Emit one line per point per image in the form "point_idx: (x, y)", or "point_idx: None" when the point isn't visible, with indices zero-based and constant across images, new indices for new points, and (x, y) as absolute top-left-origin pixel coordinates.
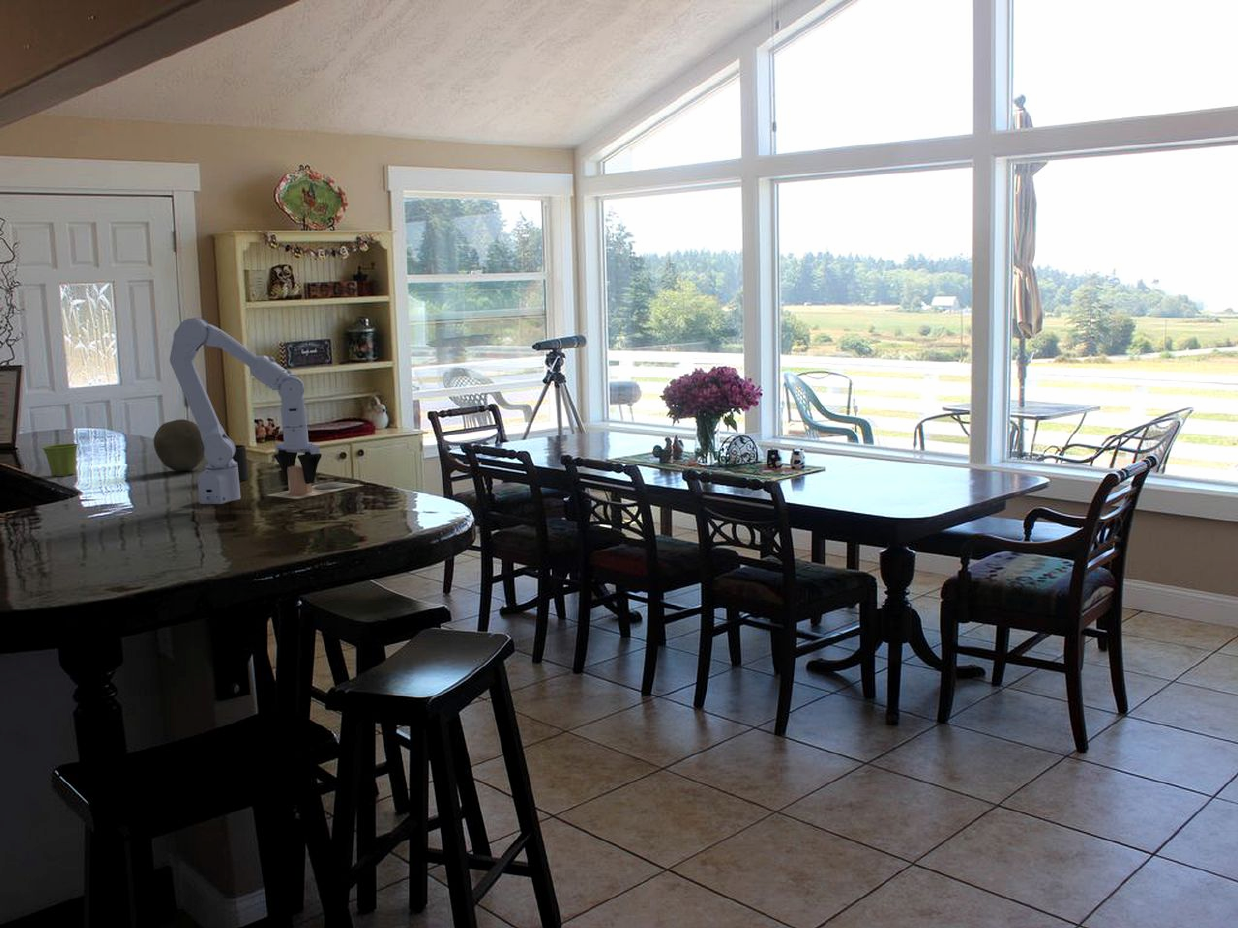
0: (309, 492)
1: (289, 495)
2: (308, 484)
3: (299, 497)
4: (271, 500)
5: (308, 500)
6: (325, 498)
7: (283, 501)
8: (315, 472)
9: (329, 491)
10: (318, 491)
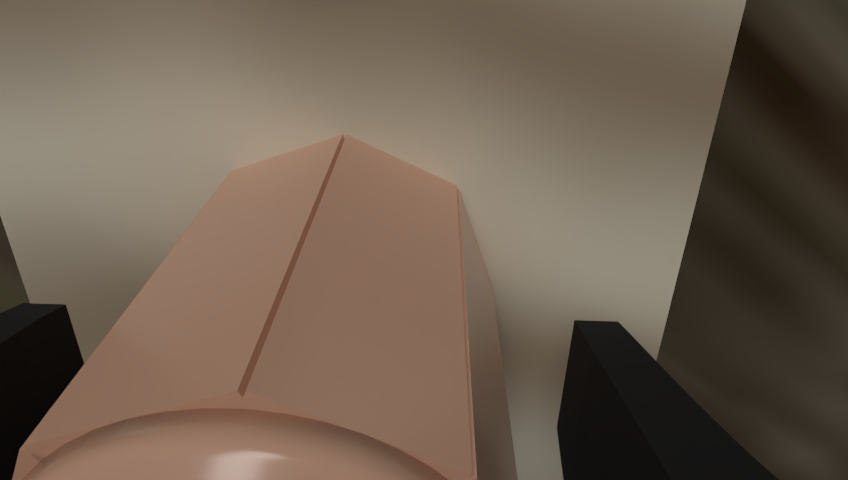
0: (475, 244)
1: None
2: (489, 321)
3: None
4: None
5: None
6: (744, 185)
7: None
8: (728, 445)
9: (682, 22)
10: (489, 94)
